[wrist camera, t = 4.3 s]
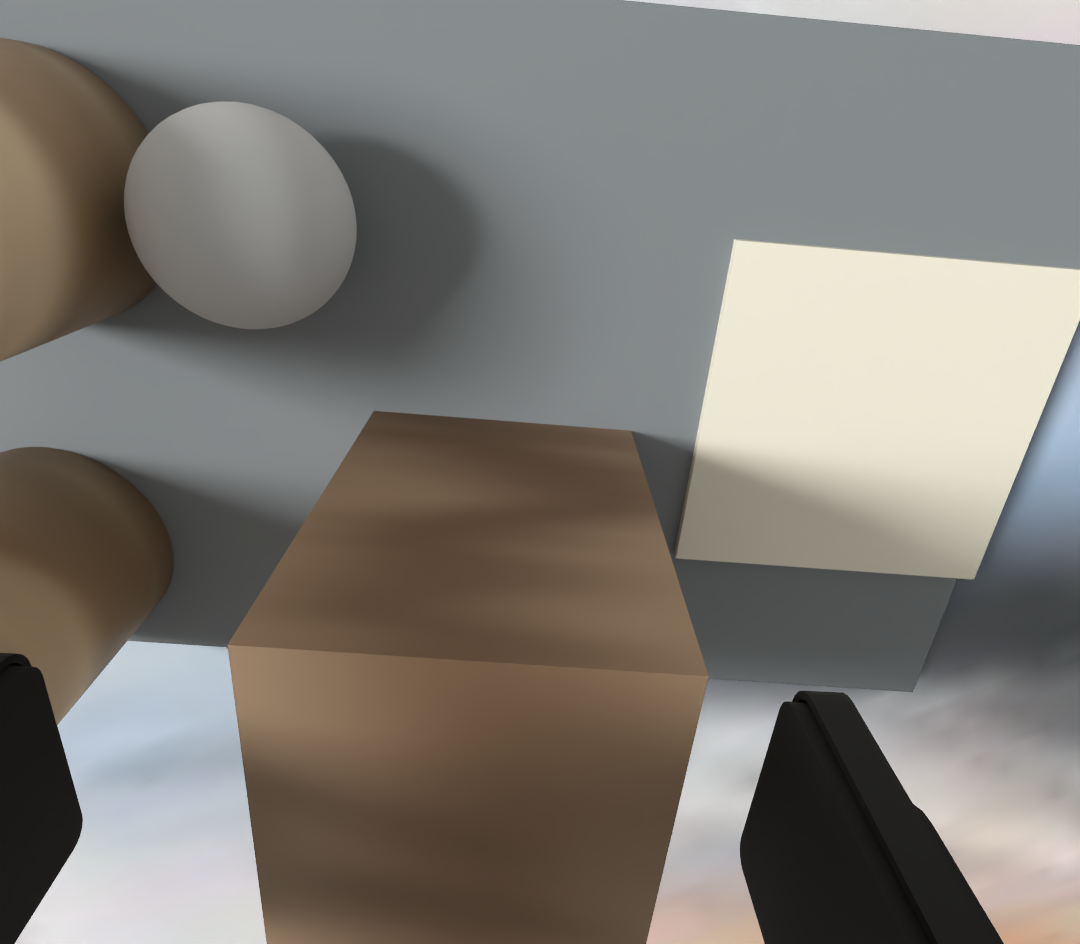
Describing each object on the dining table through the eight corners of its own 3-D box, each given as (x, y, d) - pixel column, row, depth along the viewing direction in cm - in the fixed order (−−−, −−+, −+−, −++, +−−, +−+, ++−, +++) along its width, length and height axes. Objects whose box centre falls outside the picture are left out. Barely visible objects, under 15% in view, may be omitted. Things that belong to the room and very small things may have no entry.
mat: (1148, 59, 12) (1188, 52, 11) (909, 675, 17) (925, 698, 16) (-245, -77, 11) (-302, -94, 10) (-28, 612, 16) (-54, 634, 16)
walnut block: (631, 430, 14) (709, 676, 7) (600, 636, 16) (640, 965, 10) (374, 410, 14) (227, 645, 7) (378, 621, 16) (267, 946, 9)
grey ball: (374, 116, 11) (318, 106, 9) (377, 312, 13) (330, 362, 10) (175, 97, 11) (48, 81, 8) (198, 298, 13) (97, 343, 10)
